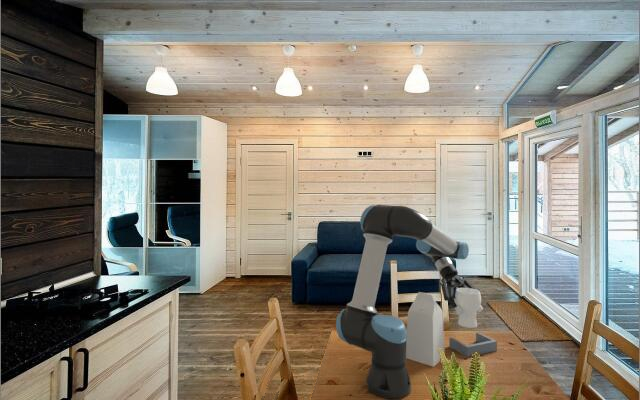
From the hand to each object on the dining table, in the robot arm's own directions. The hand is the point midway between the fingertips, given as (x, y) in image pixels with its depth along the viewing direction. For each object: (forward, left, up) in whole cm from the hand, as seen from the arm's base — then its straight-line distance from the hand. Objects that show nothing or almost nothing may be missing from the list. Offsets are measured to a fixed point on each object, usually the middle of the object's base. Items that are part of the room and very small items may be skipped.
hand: (471, 312), depth 156 cm
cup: (0, +2, -6) cm, 7 cm away
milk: (-24, 0, -15) cm, 29 cm away
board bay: (0, -2, -15) cm, 15 cm away
